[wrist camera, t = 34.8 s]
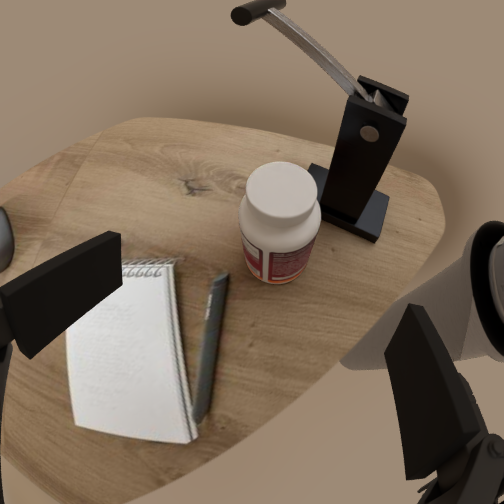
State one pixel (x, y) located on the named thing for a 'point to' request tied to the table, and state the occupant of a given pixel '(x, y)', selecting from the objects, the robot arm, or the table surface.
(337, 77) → the lever
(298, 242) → the pill bottle
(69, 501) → the table surface
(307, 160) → the table surface
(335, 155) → the bracket
